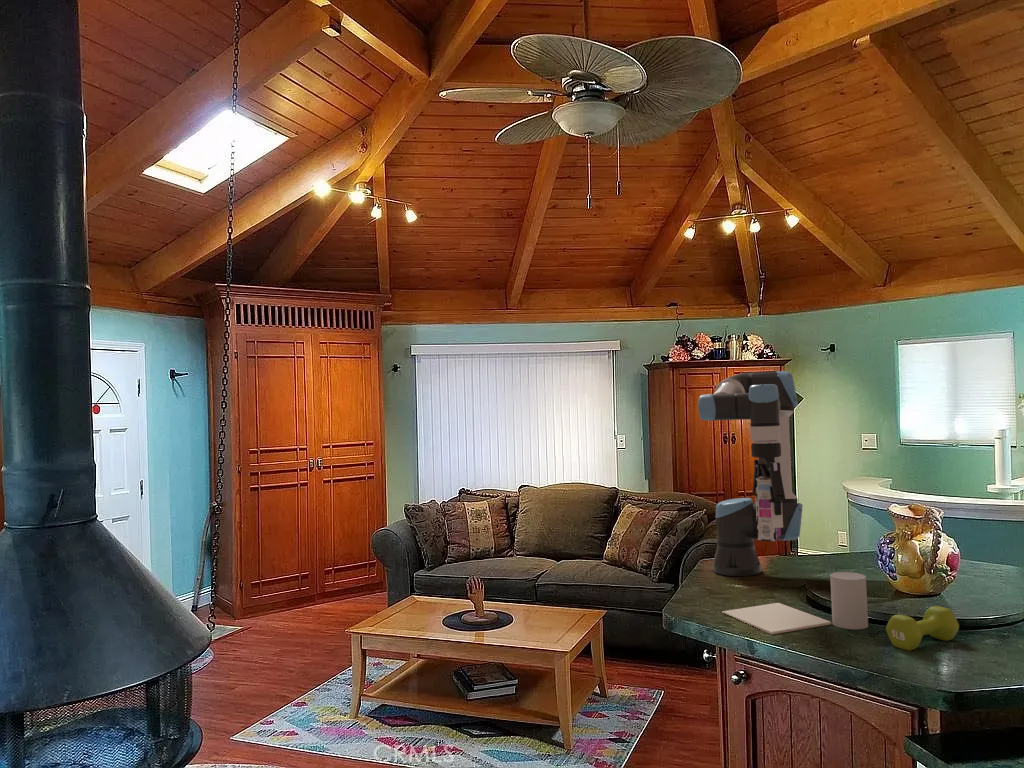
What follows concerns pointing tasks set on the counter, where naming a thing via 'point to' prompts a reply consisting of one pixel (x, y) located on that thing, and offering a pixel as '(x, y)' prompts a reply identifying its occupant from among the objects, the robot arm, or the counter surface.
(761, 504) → the candy bar box
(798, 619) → the mat
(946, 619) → the dumbbell
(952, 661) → the counter surface
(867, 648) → the counter surface
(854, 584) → the cup
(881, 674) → the counter surface
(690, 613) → the counter surface
